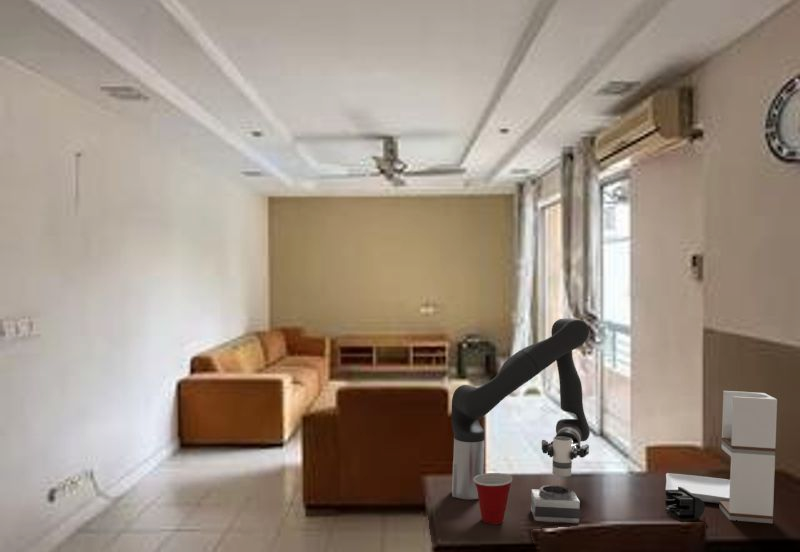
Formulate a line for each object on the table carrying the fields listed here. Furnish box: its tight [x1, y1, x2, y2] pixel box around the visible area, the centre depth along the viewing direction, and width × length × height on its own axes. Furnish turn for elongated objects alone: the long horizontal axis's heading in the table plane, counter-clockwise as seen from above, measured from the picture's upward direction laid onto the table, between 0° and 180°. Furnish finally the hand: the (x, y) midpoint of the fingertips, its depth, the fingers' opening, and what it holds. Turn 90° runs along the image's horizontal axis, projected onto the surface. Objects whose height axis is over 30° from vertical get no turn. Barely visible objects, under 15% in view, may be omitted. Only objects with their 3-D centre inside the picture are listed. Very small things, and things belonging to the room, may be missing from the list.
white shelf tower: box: [718, 390, 778, 524], centre depth 209 cm, size 11×11×35 cm
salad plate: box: [665, 472, 730, 504], centre depth 228 cm, size 21×21×3 cm
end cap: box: [664, 487, 706, 521], centre depth 208 cm, size 10×7×7 cm
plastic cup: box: [473, 472, 514, 525], centre depth 198 cm, size 11×11×12 cm
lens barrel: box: [551, 436, 573, 477], centre depth 204 cm, size 5×5×10 cm
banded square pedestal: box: [530, 484, 581, 524], centre depth 203 cm, size 12×9×8 cm
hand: (561, 454), depth 201 cm, fingers closed on lens barrel, 5 cm apart
